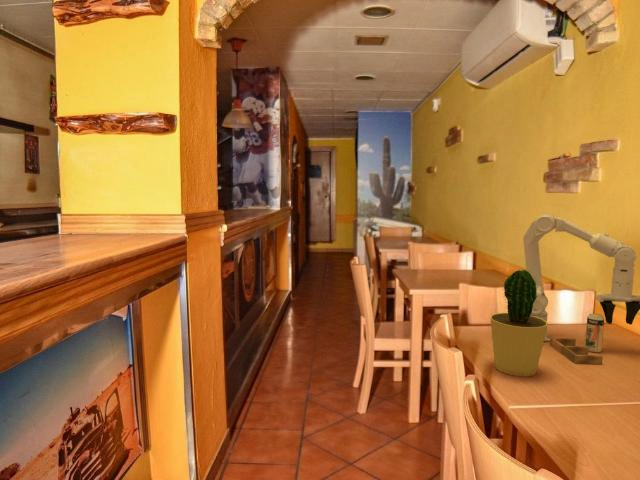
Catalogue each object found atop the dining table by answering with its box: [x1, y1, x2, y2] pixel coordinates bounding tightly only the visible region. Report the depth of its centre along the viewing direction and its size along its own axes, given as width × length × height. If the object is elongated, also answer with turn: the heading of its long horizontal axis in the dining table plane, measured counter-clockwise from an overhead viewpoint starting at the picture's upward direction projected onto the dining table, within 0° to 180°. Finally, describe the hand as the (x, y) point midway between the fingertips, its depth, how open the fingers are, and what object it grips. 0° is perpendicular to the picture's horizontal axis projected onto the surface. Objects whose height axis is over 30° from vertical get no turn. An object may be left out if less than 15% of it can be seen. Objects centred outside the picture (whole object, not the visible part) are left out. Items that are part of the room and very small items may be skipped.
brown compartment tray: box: [549, 337, 604, 365], centre depth 149 cm, size 8×17×2 cm, turn 178°
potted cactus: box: [489, 268, 549, 377], centre depth 134 cm, size 15×15×30 cm
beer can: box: [584, 313, 605, 353], centre depth 152 cm, size 5×5×12 cm
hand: (618, 323), depth 151 cm, fingers open, 6 cm apart
